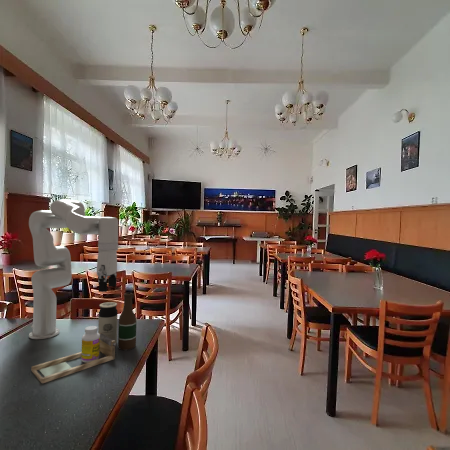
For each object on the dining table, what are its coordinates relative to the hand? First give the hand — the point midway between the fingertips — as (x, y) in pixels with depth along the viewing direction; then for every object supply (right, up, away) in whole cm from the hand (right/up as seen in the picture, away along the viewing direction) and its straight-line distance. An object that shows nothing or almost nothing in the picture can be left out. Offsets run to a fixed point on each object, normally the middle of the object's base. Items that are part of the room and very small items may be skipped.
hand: (107, 288), depth 122 cm
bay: (-10, -28, -6) cm, 30 cm away
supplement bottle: (-6, -28, -2) cm, 29 cm away
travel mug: (-5, -28, +14) cm, 32 cm away
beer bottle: (+4, -28, +11) cm, 31 cm away
